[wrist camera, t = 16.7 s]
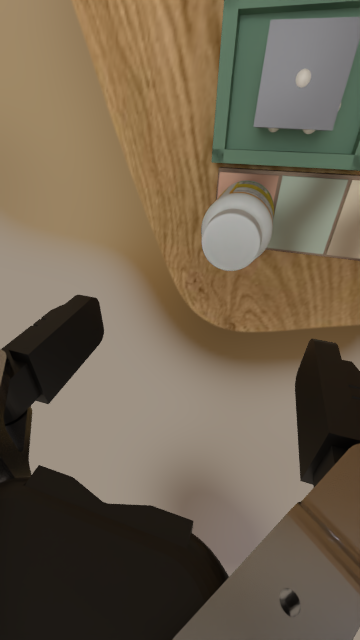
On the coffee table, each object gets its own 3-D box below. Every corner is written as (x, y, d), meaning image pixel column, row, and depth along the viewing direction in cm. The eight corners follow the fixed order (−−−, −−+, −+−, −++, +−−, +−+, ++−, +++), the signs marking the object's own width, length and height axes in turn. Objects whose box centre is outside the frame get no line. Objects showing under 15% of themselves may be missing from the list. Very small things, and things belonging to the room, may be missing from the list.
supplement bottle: (263, 168, 24) (257, 185, 16) (281, 226, 26) (283, 266, 18) (207, 195, 26) (179, 221, 18) (227, 246, 28) (209, 288, 21)
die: (351, 41, 18) (373, 14, 14) (324, 135, 21) (335, 135, 17) (271, 42, 19) (270, 18, 15) (256, 131, 22) (252, 131, 18)
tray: (423, -17, 17) (437, -31, 15) (358, 168, 22) (363, 170, 21) (229, -2, 19) (225, -13, 18) (215, 160, 25) (211, 162, 24)
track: (424, 179, 22) (429, 180, 21) (384, 261, 26) (387, 265, 25) (220, 167, 25) (218, 168, 24) (212, 241, 29) (211, 243, 29)
